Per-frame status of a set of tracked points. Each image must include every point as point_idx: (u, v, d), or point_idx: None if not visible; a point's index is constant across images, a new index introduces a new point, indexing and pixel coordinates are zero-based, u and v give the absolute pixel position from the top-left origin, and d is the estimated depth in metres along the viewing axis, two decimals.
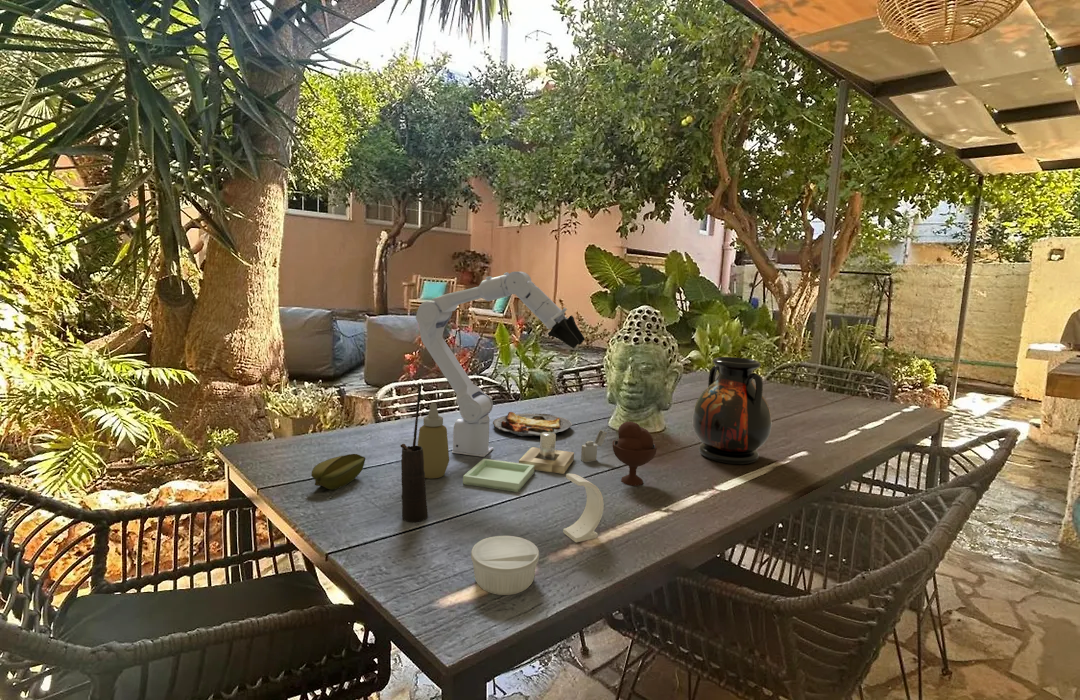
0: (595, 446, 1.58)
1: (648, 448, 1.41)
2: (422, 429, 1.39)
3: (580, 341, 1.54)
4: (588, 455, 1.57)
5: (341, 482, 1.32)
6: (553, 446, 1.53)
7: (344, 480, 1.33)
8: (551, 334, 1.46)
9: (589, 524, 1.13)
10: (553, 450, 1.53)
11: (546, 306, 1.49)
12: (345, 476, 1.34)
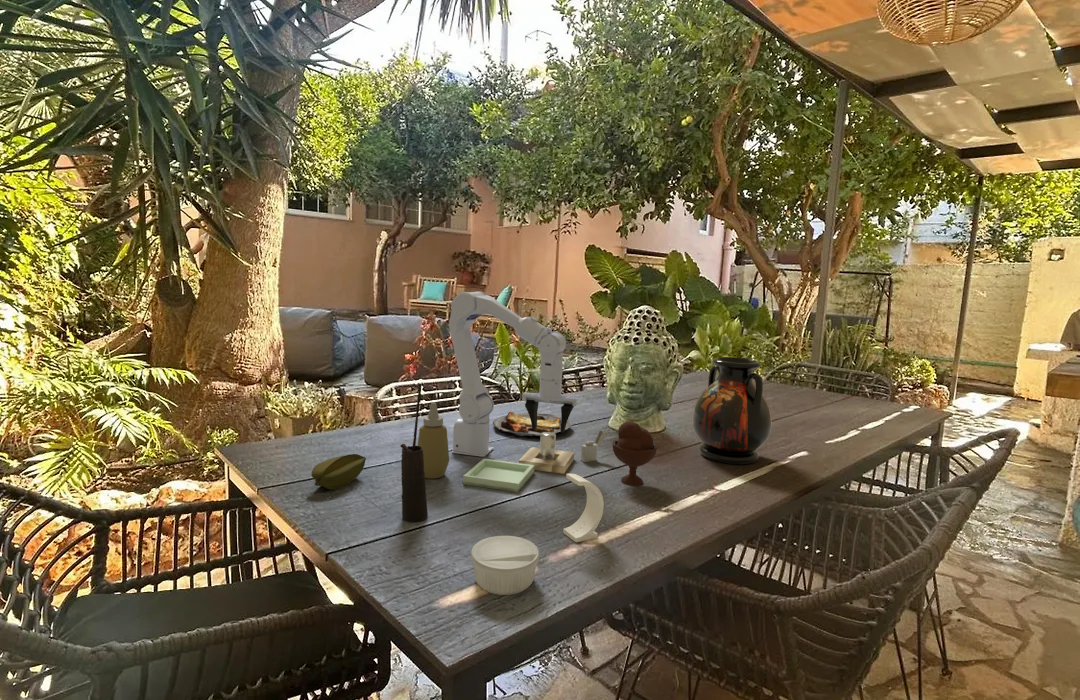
0: (595, 446, 1.58)
1: (648, 448, 1.41)
2: (422, 429, 1.39)
3: None
4: (588, 455, 1.57)
5: (341, 482, 1.32)
6: (553, 446, 1.53)
7: (344, 480, 1.33)
8: None
9: (589, 524, 1.13)
10: (553, 450, 1.53)
11: (540, 383, 1.51)
12: (345, 476, 1.34)
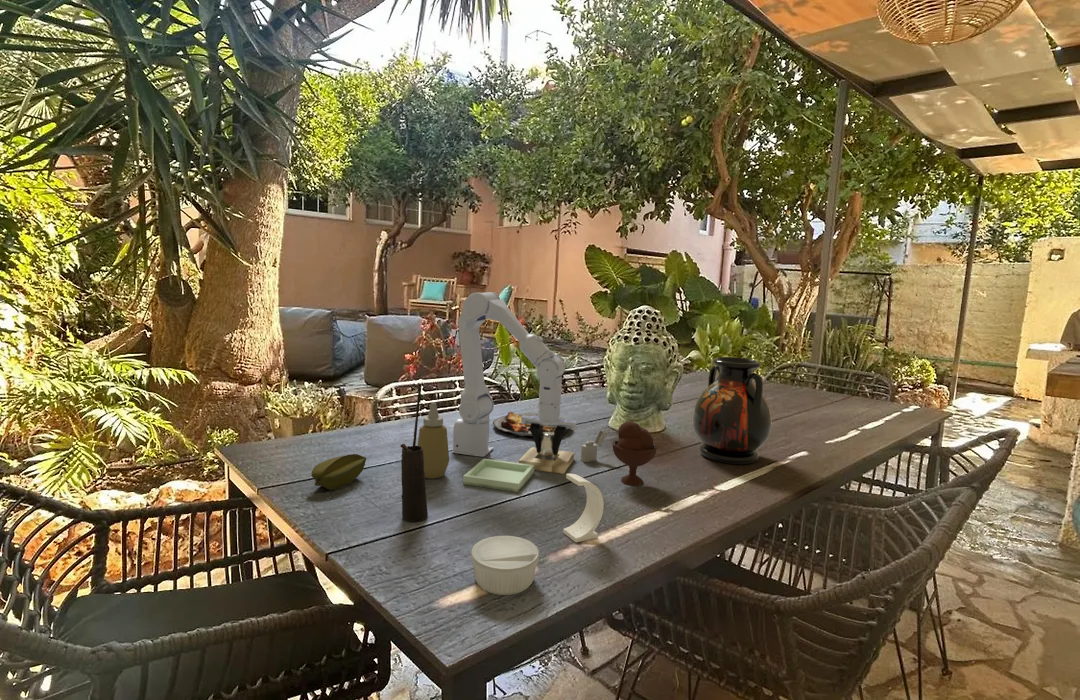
0: (595, 446, 1.58)
1: (648, 448, 1.41)
2: (422, 429, 1.39)
3: None
4: (588, 455, 1.57)
5: (341, 483, 1.32)
6: (553, 446, 1.53)
7: (344, 480, 1.33)
8: None
9: (589, 524, 1.13)
10: (553, 450, 1.53)
11: (539, 406, 1.52)
12: (345, 476, 1.34)
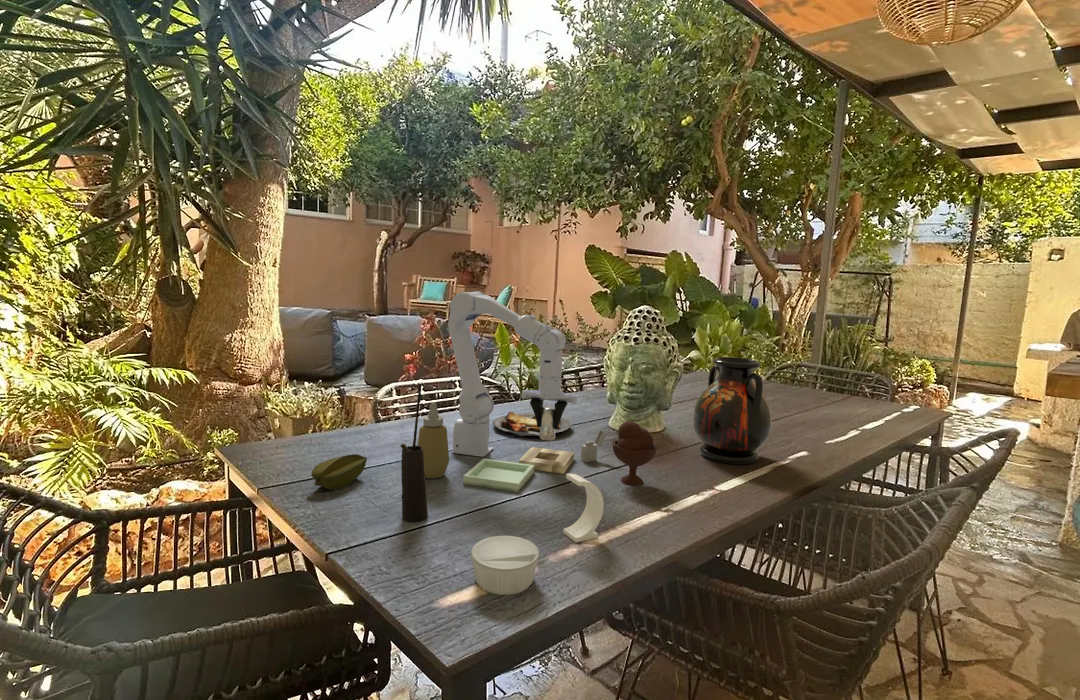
0: (595, 446, 1.58)
1: (648, 448, 1.41)
2: (422, 429, 1.39)
3: None
4: (588, 455, 1.57)
5: (341, 483, 1.32)
6: (554, 420, 1.52)
7: (344, 480, 1.33)
8: None
9: (589, 524, 1.13)
10: None
11: (539, 380, 1.51)
12: (345, 476, 1.33)
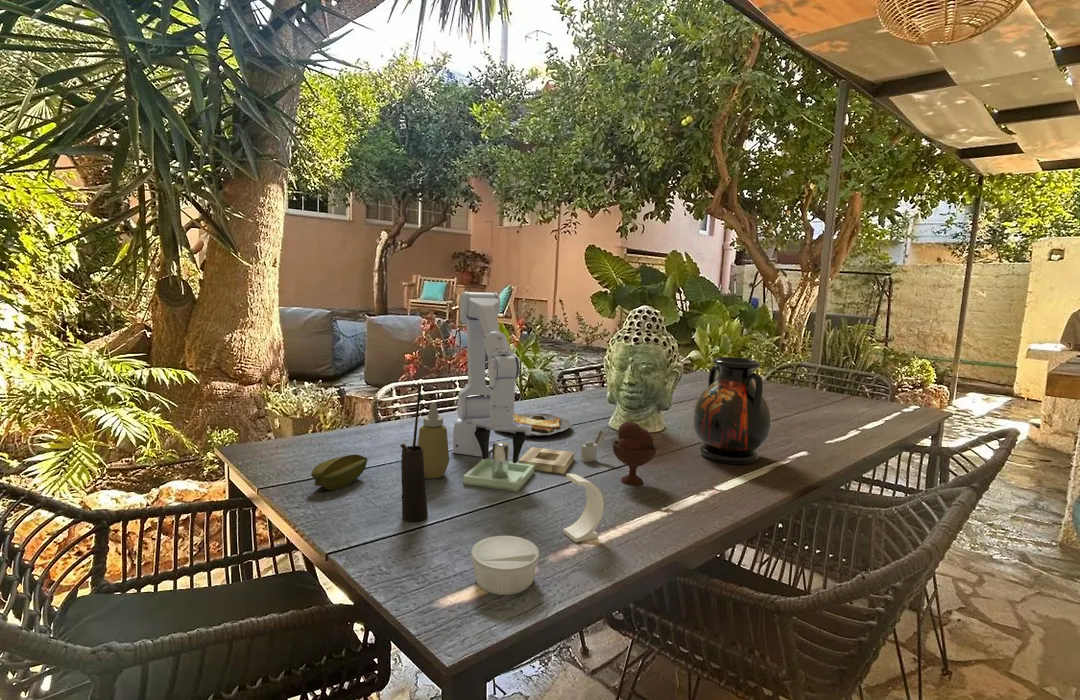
0: (595, 446, 1.58)
1: (648, 448, 1.41)
2: (422, 429, 1.39)
3: None
4: (588, 455, 1.57)
5: (341, 483, 1.32)
6: (506, 457, 1.40)
7: (345, 480, 1.33)
8: None
9: (589, 524, 1.13)
10: (506, 461, 1.41)
11: (490, 409, 1.39)
12: (346, 477, 1.33)
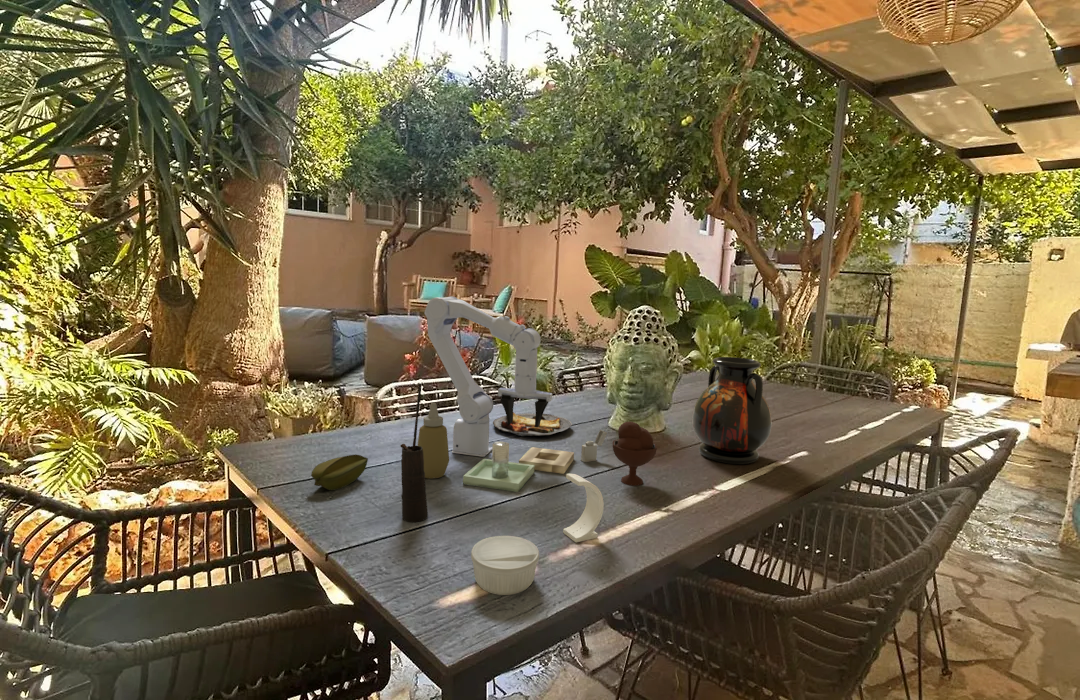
0: (595, 446, 1.58)
1: (648, 448, 1.41)
2: (422, 429, 1.39)
3: None
4: (588, 455, 1.57)
5: (341, 483, 1.32)
6: (506, 457, 1.40)
7: (345, 480, 1.33)
8: None
9: (589, 524, 1.13)
10: (506, 461, 1.41)
11: (515, 378, 1.54)
12: (346, 477, 1.33)
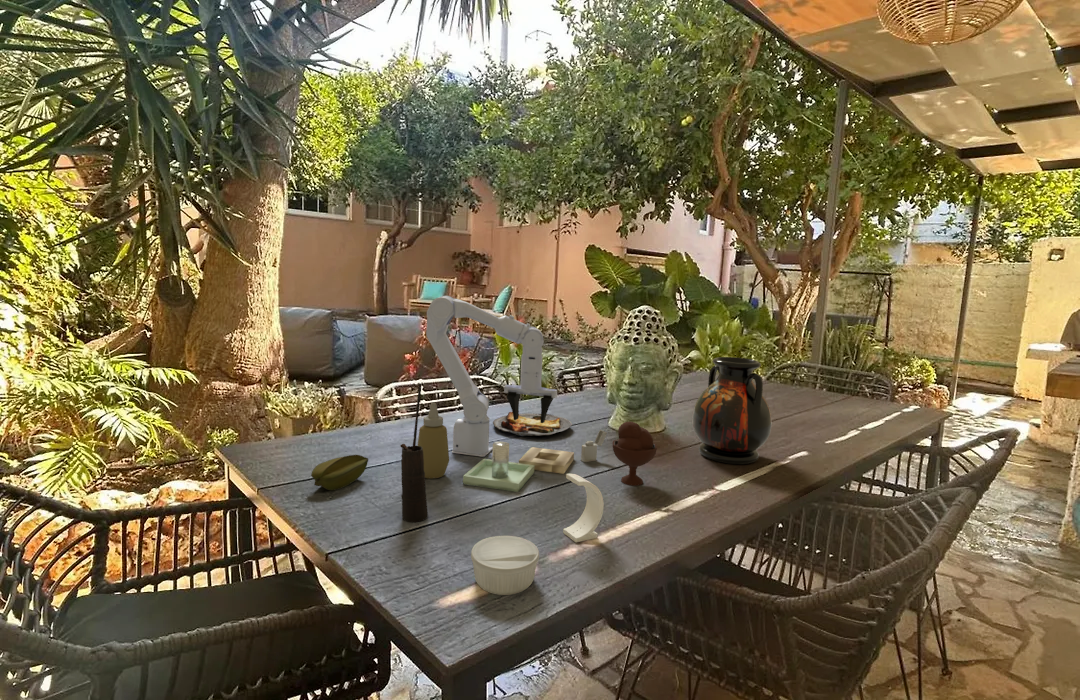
0: (595, 446, 1.58)
1: (648, 448, 1.41)
2: (422, 429, 1.39)
3: None
4: (588, 455, 1.57)
5: (341, 483, 1.32)
6: (506, 457, 1.40)
7: (345, 480, 1.33)
8: None
9: (589, 524, 1.13)
10: (506, 461, 1.41)
11: (521, 375, 1.59)
12: (346, 477, 1.33)
